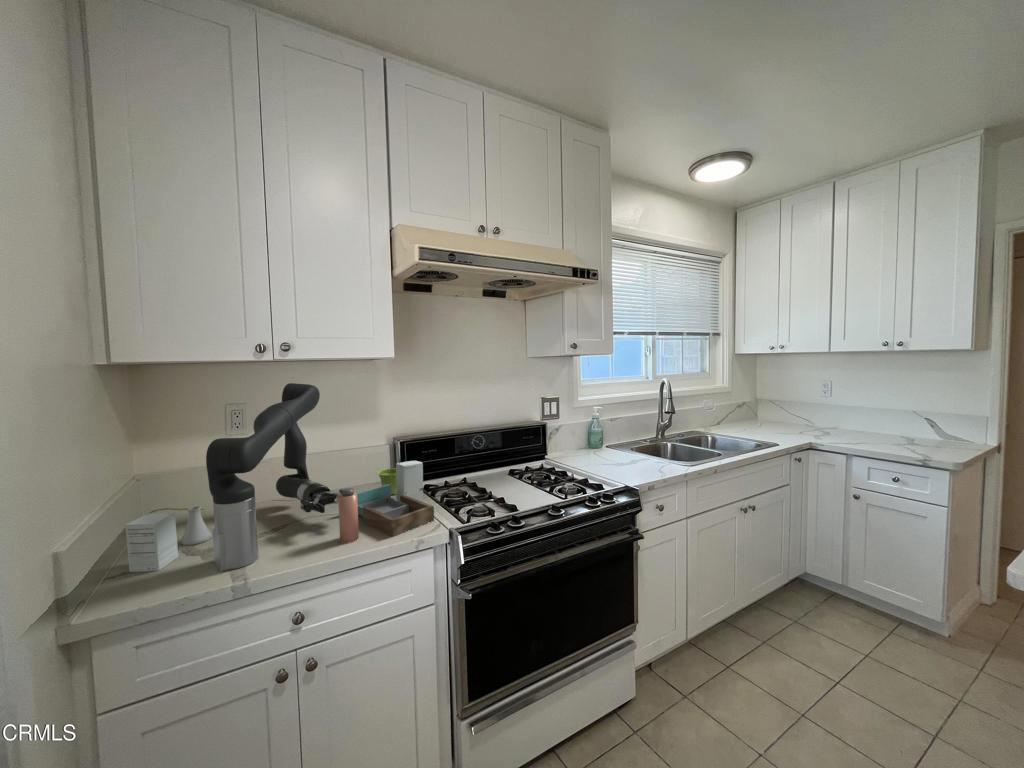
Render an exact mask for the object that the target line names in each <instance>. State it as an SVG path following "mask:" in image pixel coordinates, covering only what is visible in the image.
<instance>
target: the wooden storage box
mask: <svg viewBox="0 0 1024 768" xmlns="http://www.w3.org/2000/svg"><path fill="white" fill-rule="evenodd" d="M400 501H401V502H404V503H406V504H409V513H408V514H405V515H402V516H400V517H397V518H392V517H390V516H387V515H385V514H383V513H381V512H379V511H376V510H374V509H372V508H370V507H368V506H364V507H363V519H362V520H363V521H364V522H363V523H365V522H366V523H365V524H367V523H368V524H367V525H369V524H370V525H369V526H371V527H373V528H374V529H377V528H378V529H377V530H379V531H380V532H383V533H385V534H387V535H389V536H391V537H392V536H393V537H396V536H399V535H402V534H404V533H407V532H409V531H408V530H410V529H412V530H414V529H413V528H415V527H417V528H419V527H418V526H420V525H423V524H425V525H427V524H426V523H428V522H430V523H432V522H431V521H433V522H434V521H435V508H434V505H431V504H429V503H426V502H424V501H422V502H421V501H419V500H416V499H413V498H411V497H408V496H405V495H400ZM428 524H429V523H428ZM423 526H424V525H423ZM420 527H421V526H420ZM415 529H416V528H415ZM406 531H407V532H406ZM410 531H411V530H410ZM403 532H404V533H403ZM401 533H402V534H401Z"/></svg>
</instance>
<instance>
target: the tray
mask: <svg viewBox="0 0 1024 768" xmlns="http://www.w3.org/2000/svg"><path fill="white" fill-rule="evenodd" d="M356 493H357V501H358V516H360V517H363V507H364V506H368V507H370V508H372V509H374V510H376V511H379V512H381V513H383V514H385V515H387V516H390V517H392V518H397V517H400V516H402V515H405V514H408V513H409V504H406V503H404V502H401V501H399V500H397V498H393V497H392V495H391V485H390V484H388V485H384V486H382V485H381V486H378V487H377V486H376V487H374V488H369V489H366V490H362V491H359V492H356Z"/></svg>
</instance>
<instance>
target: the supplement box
mask: <svg viewBox="0 0 1024 768" xmlns="http://www.w3.org/2000/svg"><path fill="white" fill-rule="evenodd" d="M124 526H125V536H126V537H125V538H126V539H125V540H126V549H127V550H126V551H127V561H128V570H129V572H130V573H133V572H134V573H135V572H136V573H137V572H158V571H161V569H163V568H165V567H166V566H168V565H169V564H171V563H173V561H175V560H176V559H177V558H179V550H178V549H179V547H178V537H177V524H176V513H174V512H164V513H162V512H160V513H146V514H144V515H142V516H140V517H139V518H136V519H134V520H133V521H130V522H128V523H126V524H124Z"/></svg>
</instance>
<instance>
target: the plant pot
mask: <svg viewBox="0 0 1024 768" xmlns="http://www.w3.org/2000/svg"><path fill="white" fill-rule="evenodd" d="M377 474H378V476H379V478H380V482H381V486H384V485H388V484H390V485H391V496H392V495H397V494H396V467H395V468H385V469H381V470H379V471H378V472H377Z"/></svg>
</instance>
